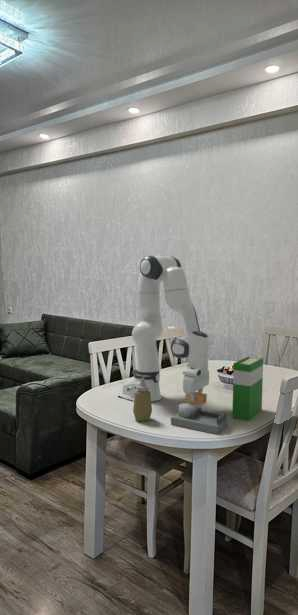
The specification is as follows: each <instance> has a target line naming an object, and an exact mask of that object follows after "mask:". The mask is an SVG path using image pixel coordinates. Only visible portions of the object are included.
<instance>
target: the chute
mask: <svg viewBox="0 0 298 615" xmlns="http://www.w3.org/2000/svg"><path fill="white" fill-rule="evenodd" d="M195 397H196V398H195V401H191V400H190V399H191V397H190V394H187V393H185V401H184V403H190V404H194V405H195V406H200V407H202V406H204V405H205V404H207V399H208V394H207V393H204V392H202V393H199V392H198V391H195Z"/></svg>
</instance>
